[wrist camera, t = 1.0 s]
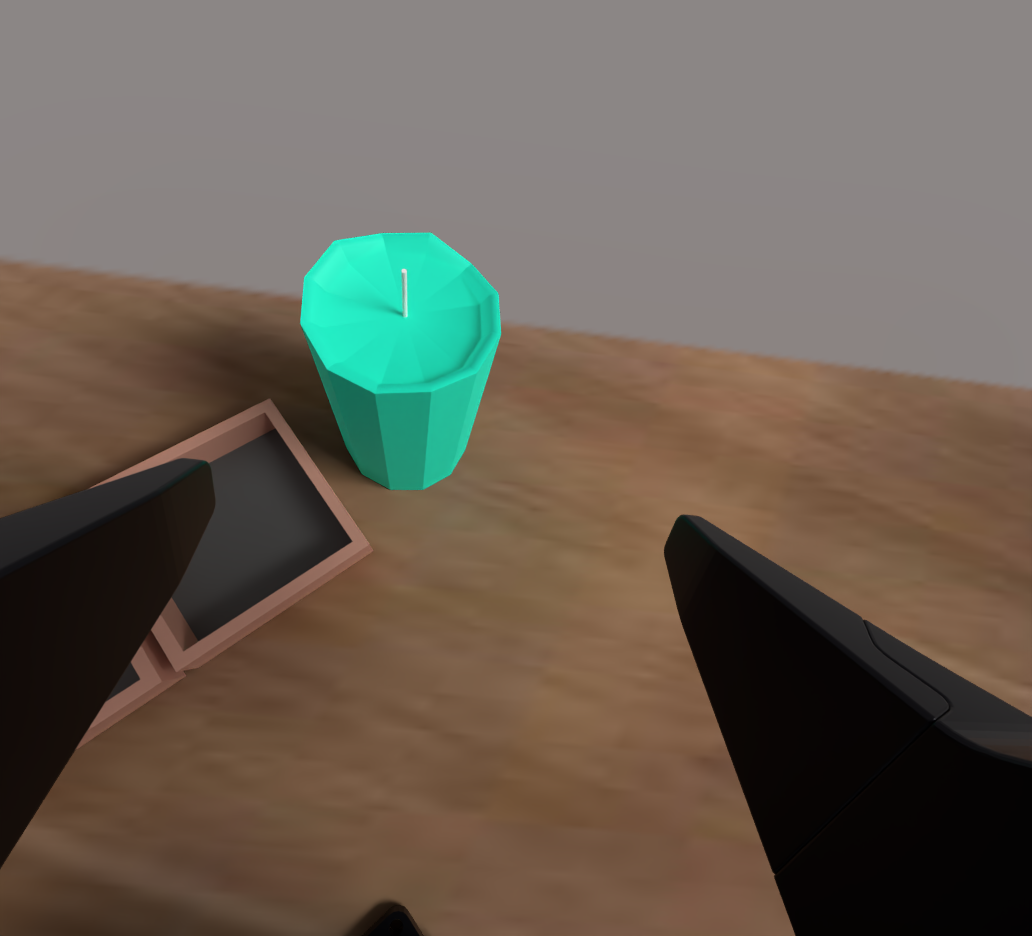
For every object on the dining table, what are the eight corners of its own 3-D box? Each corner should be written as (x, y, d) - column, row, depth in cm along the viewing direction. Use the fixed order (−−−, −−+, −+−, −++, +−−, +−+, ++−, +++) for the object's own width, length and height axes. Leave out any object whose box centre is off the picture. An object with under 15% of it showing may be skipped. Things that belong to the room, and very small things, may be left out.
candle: (480, 475, 24) (540, 348, 13) (360, 505, 22) (310, 389, 11) (448, 371, 26) (477, 177, 14) (333, 393, 24) (264, 191, 13)
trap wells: (-52, 834, 16) (-111, 862, 14) (-149, 638, 17) (-216, 640, 15) (373, 551, 22) (369, 544, 20) (281, 416, 23) (269, 398, 21)
